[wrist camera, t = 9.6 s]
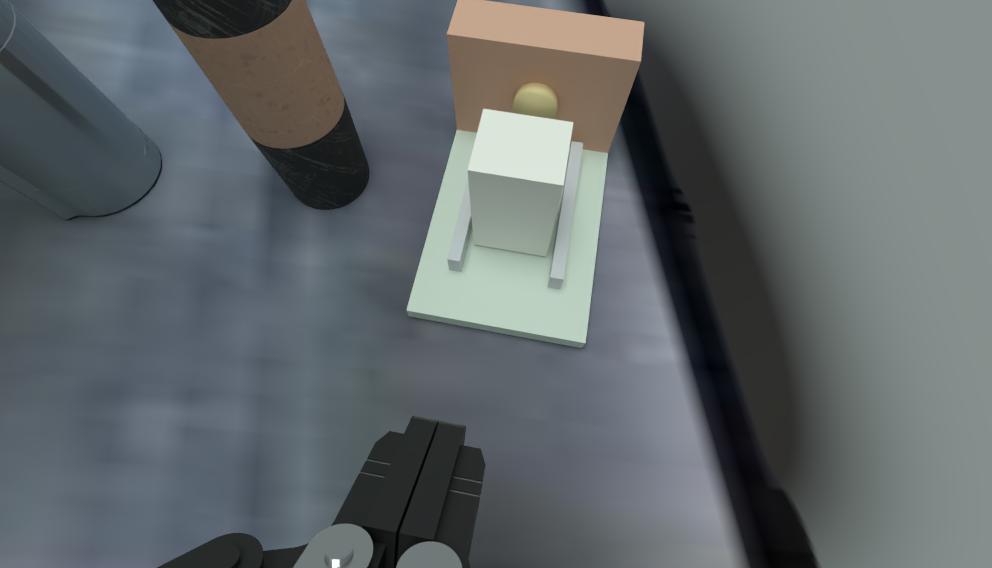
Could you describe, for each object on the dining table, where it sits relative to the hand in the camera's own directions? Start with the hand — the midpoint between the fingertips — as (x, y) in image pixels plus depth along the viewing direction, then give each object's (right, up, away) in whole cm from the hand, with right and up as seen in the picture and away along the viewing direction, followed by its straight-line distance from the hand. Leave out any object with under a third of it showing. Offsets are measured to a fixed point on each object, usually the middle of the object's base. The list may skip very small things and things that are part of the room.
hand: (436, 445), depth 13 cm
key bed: (+4, +11, +28) cm, 30 cm away
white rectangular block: (+3, +9, +26) cm, 28 cm away
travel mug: (-14, +14, +30) cm, 36 cm away
